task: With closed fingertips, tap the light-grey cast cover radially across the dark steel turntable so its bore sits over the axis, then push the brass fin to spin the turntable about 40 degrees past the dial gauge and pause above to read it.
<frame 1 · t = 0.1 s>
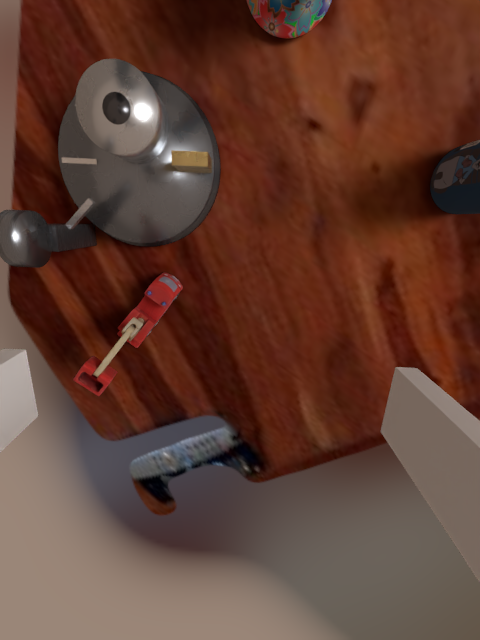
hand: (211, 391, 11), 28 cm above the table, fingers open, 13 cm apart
turntable: (132, 161, 30), point 4 cm above the table, hinge at 0.0°, touching cover
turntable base: (144, 167, 34), on the table
soda can: (454, 182, 34), on the table
cover: (134, 124, 30), point 3 cm above the table, touching turntable
toy fire truck: (146, 316, 40), on the table
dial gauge: (85, 234, 36), on the table
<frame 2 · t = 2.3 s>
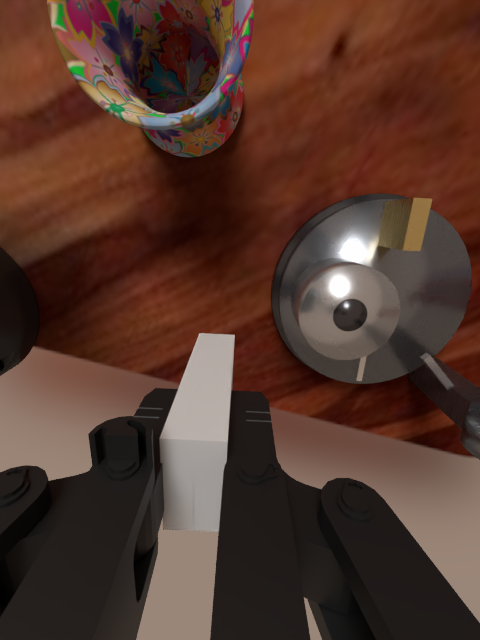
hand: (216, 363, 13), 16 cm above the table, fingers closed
turntable: (380, 304, 25), point 4 cm above the table, hinge at 0.0°, touching cover
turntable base: (361, 292, 28), on the table
cover: (331, 299, 26), point 3 cm above the table, touching turntable
mug: (190, 79, 23), on the table
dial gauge: (422, 368, 31), on the table
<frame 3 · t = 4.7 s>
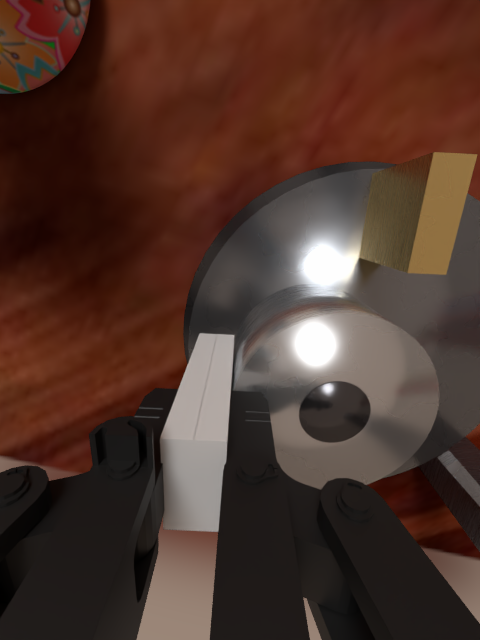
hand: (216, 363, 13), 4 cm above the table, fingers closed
turntable: (365, 365, 13), point 4 cm above the table, hinge at 0.0°, touching cover
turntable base: (337, 332, 17), on the table
cover: (306, 355, 15), point 3 cm above the table, touching turntable
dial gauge: (436, 445, 20), on the table
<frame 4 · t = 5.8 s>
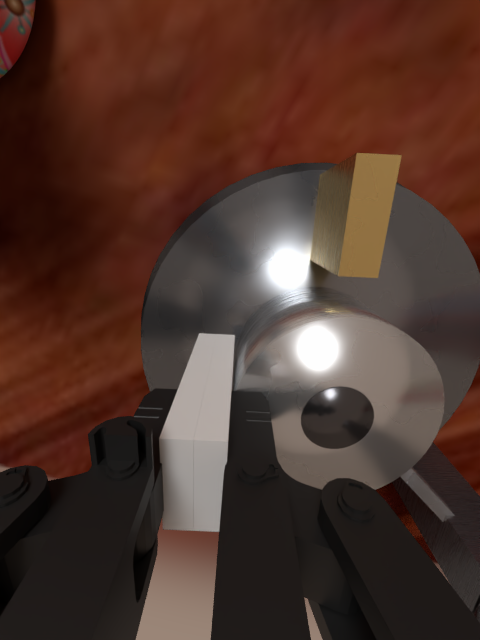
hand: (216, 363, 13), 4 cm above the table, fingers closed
turntable: (317, 369, 13), point 4 cm above the table, hinge at 0.0°, touching cover
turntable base: (300, 335, 17), on the table
cover: (308, 359, 14), point 3 cm above the table, touching turntable
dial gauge: (404, 450, 19), on the table
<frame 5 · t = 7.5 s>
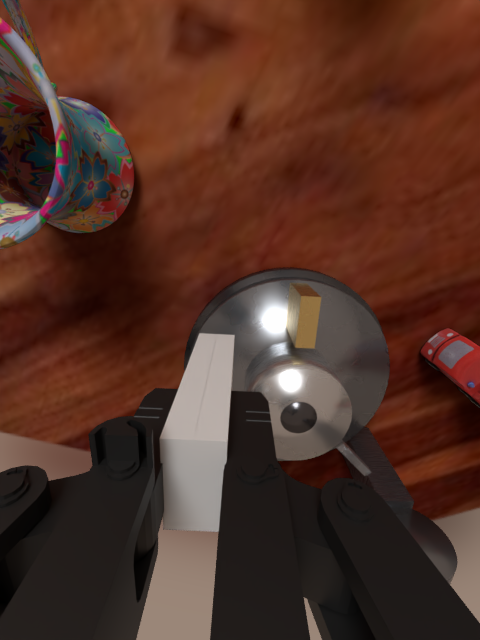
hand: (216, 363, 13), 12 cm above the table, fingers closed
turntable: (290, 388, 23), point 4 cm above the table, hinge at 0.0°, touching cover
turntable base: (283, 364, 27), on the table
cover: (287, 382, 24), point 3 cm above the table, touching turntable
toy fire truck: (473, 379, 28), on the table
mug: (80, 151, 22), on the table
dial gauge: (353, 437, 29), on the table
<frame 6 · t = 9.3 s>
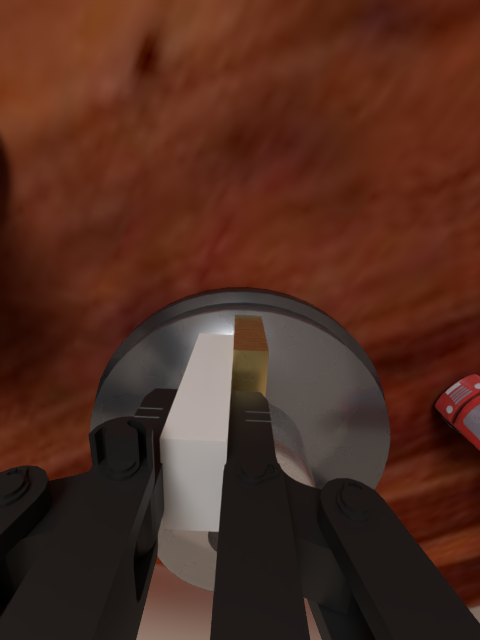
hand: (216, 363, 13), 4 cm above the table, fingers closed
turntable: (240, 471, 15), point 4 cm above the table, hinge at 0.0°, touching cover, gripper
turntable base: (240, 420, 19), on the table
cover: (238, 453, 16), point 3 cm above the table, touching turntable
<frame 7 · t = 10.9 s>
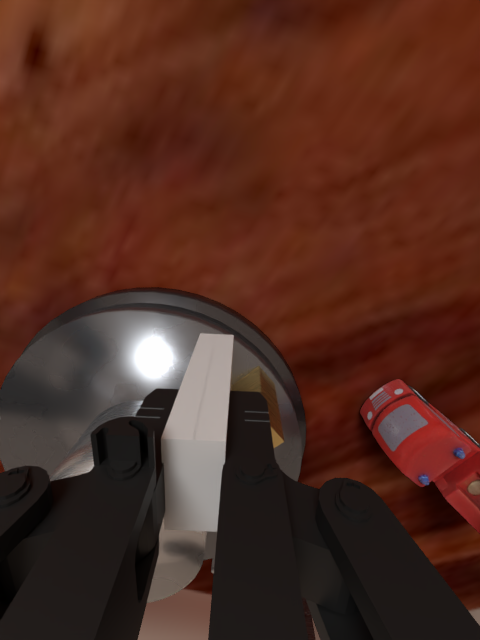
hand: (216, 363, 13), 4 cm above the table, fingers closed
turntable: (141, 476, 15), point 4 cm above the table, hinge at -48.1°, touching cover, gripper
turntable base: (162, 423, 19), on the table
cover: (149, 457, 16), point 3 cm above the table, touching turntable
toy fire truck: (443, 447, 19), on the table
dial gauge: (274, 521, 21), on the table
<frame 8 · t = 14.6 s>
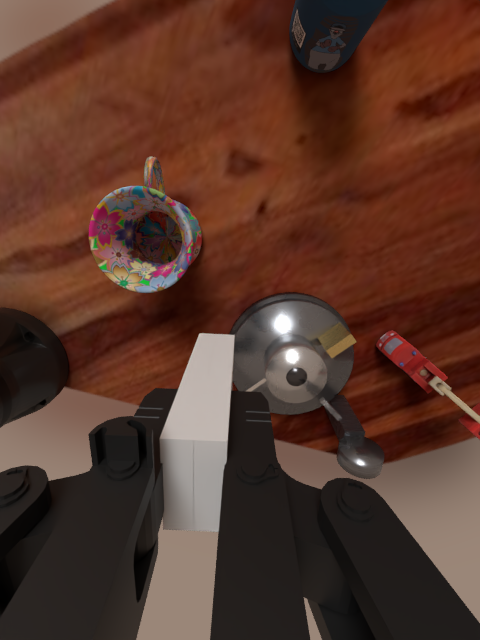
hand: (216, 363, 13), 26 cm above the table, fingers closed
turntable: (292, 366, 38), point 4 cm above the table, hinge at -48.6°, touching cover
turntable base: (288, 352, 42), on the table
soda can: (321, 38, 31), on the table
cover: (290, 359, 39), point 3 cm above the table, touching turntable
toy fire truck: (412, 363, 42), on the table
mug: (169, 224, 37), on the table
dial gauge: (334, 402, 44), on the table
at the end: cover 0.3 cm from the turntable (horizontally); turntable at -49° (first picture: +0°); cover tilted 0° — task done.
